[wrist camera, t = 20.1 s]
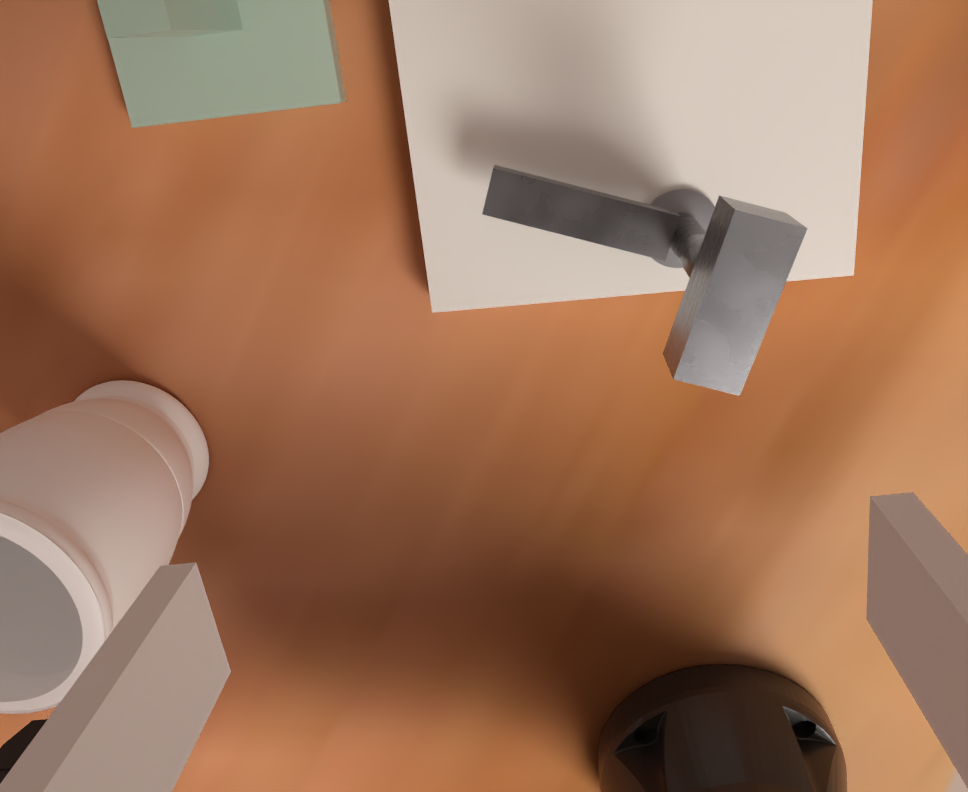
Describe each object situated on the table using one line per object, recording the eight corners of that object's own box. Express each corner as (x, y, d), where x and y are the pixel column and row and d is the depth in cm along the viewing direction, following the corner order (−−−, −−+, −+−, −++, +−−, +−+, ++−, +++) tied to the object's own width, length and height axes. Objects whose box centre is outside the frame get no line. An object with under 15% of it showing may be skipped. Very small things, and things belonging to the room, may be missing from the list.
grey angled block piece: (729, 171, 37) (807, 228, 26) (684, 297, 39) (739, 395, 29) (506, 113, 37) (495, 147, 26) (475, 244, 39) (453, 324, 28)
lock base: (839, 264, 41) (855, 277, 39) (436, 300, 43) (431, 314, 41) (875, -324, 32) (899, -349, 30) (361, -246, 34) (350, -264, 32)
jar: (58, 335, 45) (-153, 470, 31) (245, 393, 45) (121, 550, 32) (39, 496, 49) (-154, 679, 35) (211, 547, 50) (88, 745, 36)
